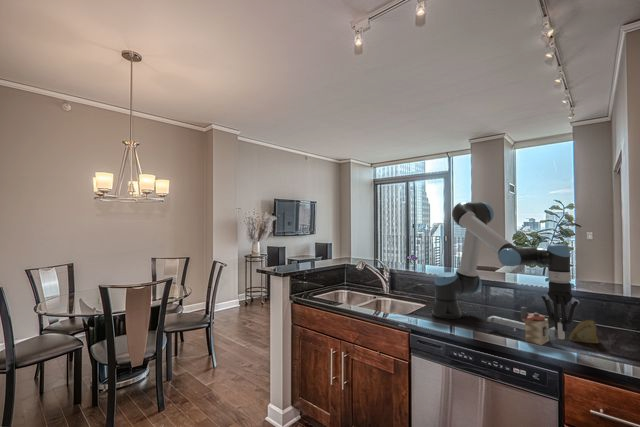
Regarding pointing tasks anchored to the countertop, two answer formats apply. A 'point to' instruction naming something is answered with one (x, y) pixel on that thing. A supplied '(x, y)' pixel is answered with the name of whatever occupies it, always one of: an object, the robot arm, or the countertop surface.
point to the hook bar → (523, 326)
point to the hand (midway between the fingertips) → (561, 338)
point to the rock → (585, 332)
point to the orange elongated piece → (530, 315)
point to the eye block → (536, 331)
